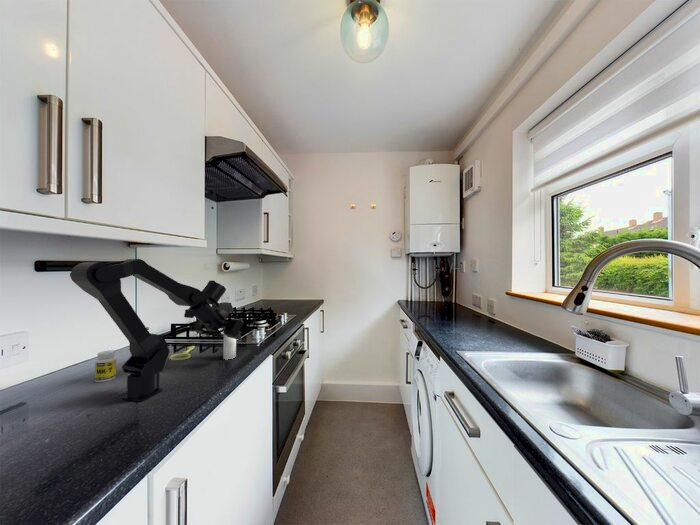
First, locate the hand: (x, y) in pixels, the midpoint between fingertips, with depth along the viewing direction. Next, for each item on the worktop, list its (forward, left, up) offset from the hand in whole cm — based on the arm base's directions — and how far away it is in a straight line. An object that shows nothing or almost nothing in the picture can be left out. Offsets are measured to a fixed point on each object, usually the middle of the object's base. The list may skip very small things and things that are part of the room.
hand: (230, 337), depth 100 cm
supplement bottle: (-24, +26, -8) cm, 37 cm away
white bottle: (0, 0, -8) cm, 8 cm away
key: (-1, +20, -8) cm, 22 cm away
